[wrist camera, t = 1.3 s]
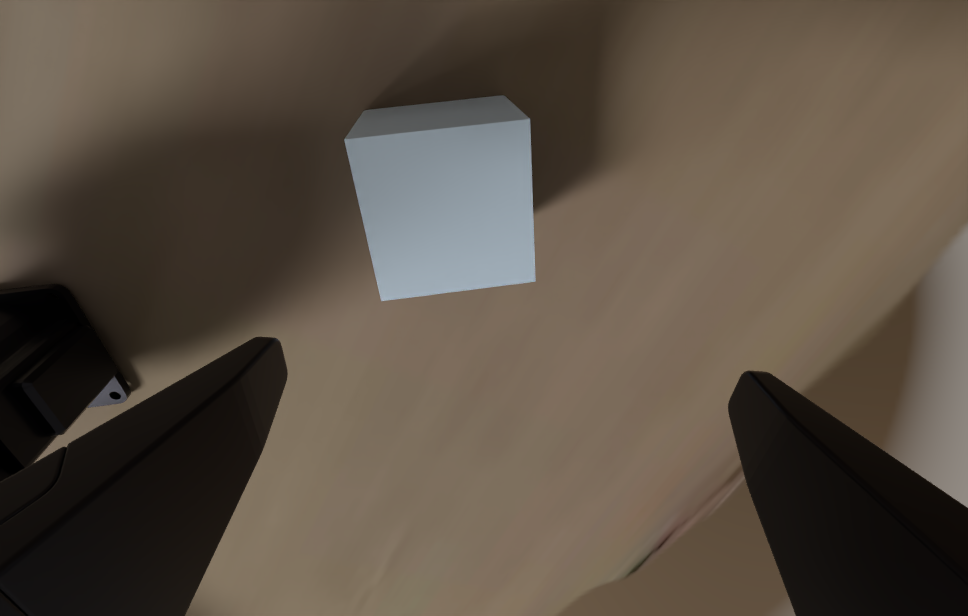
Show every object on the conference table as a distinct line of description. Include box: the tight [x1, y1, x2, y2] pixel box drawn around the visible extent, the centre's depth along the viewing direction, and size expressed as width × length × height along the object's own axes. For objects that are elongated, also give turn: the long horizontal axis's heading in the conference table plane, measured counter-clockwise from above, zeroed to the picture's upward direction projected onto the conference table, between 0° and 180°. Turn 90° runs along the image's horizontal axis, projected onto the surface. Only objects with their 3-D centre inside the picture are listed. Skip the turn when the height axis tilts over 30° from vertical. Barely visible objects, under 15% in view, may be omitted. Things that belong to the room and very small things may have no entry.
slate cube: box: [344, 95, 535, 301], centre depth 18 cm, size 6×6×6 cm
